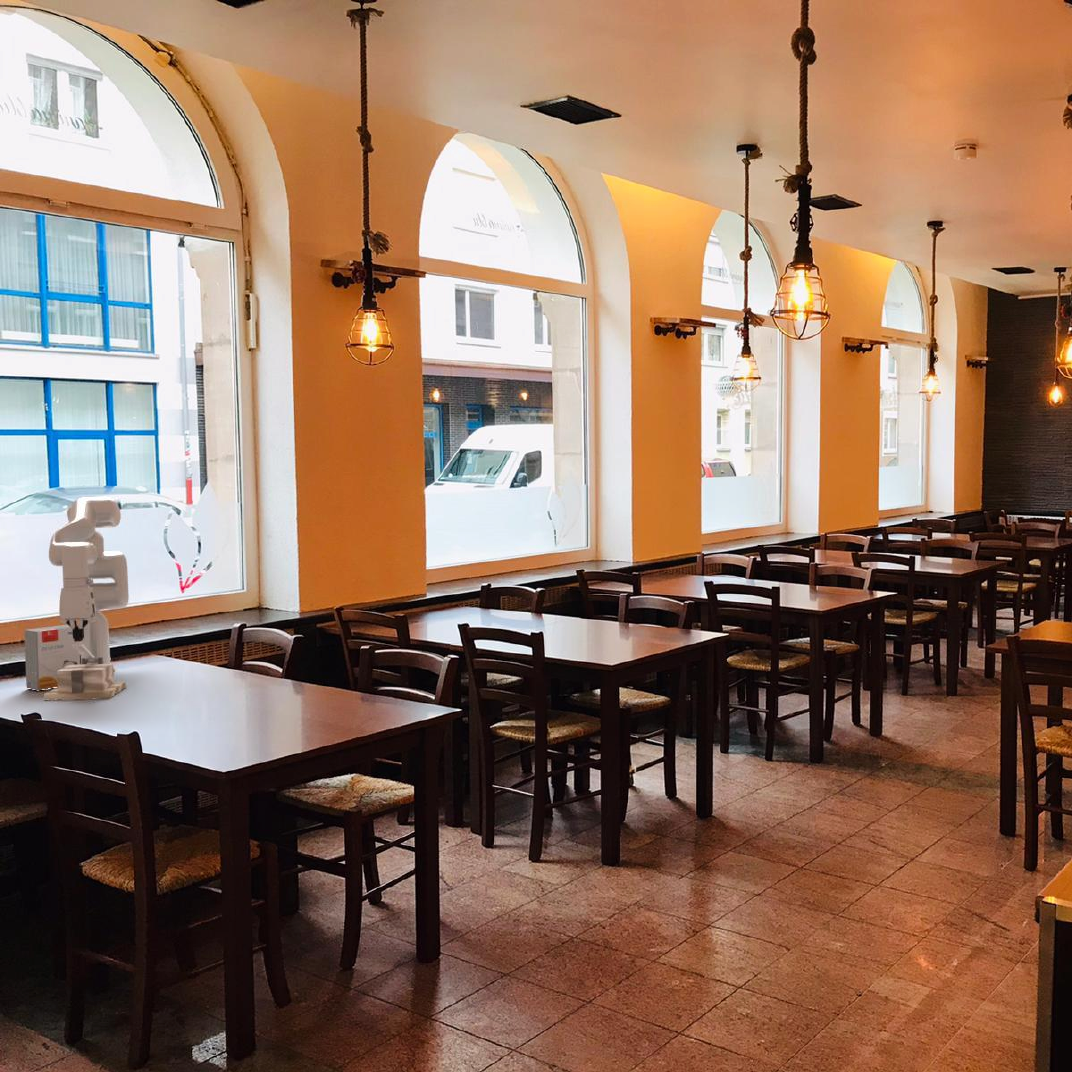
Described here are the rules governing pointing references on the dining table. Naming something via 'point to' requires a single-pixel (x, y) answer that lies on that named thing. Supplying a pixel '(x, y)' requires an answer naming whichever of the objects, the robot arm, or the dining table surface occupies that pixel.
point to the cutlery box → (85, 682)
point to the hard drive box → (48, 655)
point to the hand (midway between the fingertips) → (78, 640)
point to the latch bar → (85, 653)
